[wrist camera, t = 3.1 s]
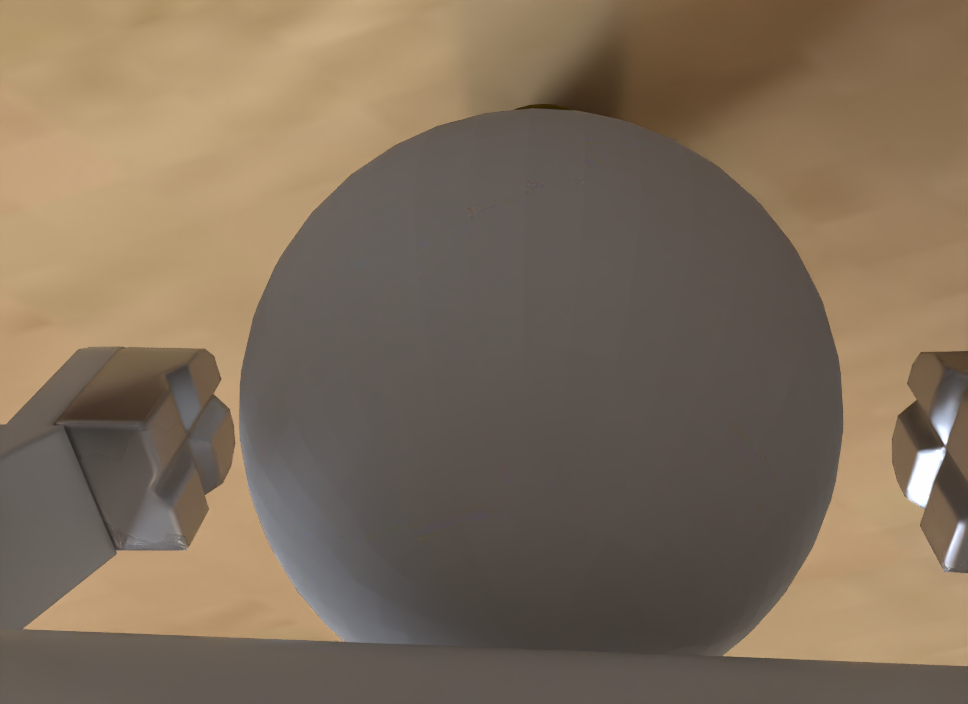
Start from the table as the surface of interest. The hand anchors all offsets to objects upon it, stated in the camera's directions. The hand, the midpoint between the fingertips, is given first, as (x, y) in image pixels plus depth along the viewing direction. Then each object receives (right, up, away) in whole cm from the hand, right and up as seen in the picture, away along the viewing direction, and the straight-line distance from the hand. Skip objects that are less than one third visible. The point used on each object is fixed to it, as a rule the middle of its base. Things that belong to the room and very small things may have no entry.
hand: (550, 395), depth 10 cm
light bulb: (0, +4, +5) cm, 6 cm away
